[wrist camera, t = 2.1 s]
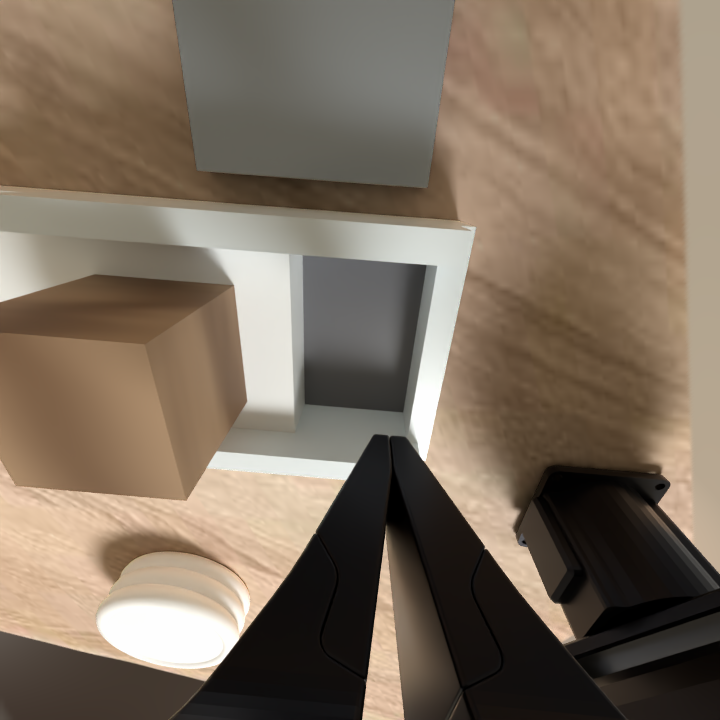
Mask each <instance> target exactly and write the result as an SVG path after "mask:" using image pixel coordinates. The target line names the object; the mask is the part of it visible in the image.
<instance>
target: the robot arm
mask: <svg viewBox="0 0 720 720" xmlns="http://www.w3.org/2000/svg"><path fill="white" fill-rule="evenodd" d="M669 487H670V482H669V481H668V480H667V479H666V478H665V477H664V476H663V475H660V474H649V473H637V472H626V471H614V470H602V469H590V468H579V467H567V466H552V467H549V468H548V469H546V471H545V472H544V475H543V477H542V479H541V481H540V483H539V485H538V488H537V490H536V492H535V494H534V496H533V499H532V500H531V503H530V505H529V507H528V509H527V511H526V514H525V516H524V518H523V520H522V522H521V525H520V527H519V529H518V531H517V534H516V539H517V541H518V544H519V545H520V546H524V547H528V549H529V551H530V553H531V556H532V558H533V560H534V563H535V565H536V568H537V570H538V572H539V575H540V577H541V579H542V582H543V584H544V587H545V589H546V591H547V594H548V596H549V598H550V599H551V600H552V601H553V602H554V603H557V604H561V606H562V609H563V611H564V613H565V616H566V618H567V620H568V622H569V625H570V627H571V629H572V631H573V634H574V636H575V638H576V640H575V641H572V642H569V643H566V644H562V643H561V642H560V641H559V640H558V638H557V637H556V636H555V635H554V634H553V633H552V631H551V630H550V629H549V628H548V627H547V626H546V624H545V623H544V622H543V621H542V620H541V618H540V617H539V616H538V615H537V614H536V612H535V611H534V610H533V609H532V607H531V606H530V605H529V604H528V603H527V601H526V600H525V599H524V598H523V597H522V595H521V594H520V593H519V592H518V590H517V589H516V588H515V586H514V585H513V584H512V582H511V581H510V580H509V578H508V577H507V576H506V574H505V573H504V572H503V570H502V569H501V568H500V566H499V565H498V564H497V562H496V561H495V560H494V558H493V557H492V555H491V554H490V553H489V551H488V550H487V549H485V546H484V544H483V543H482V542H481V540H480V539H479V537H478V536H477V535H476V533H475V532H474V531H473V529H472V528H471V526H470V525H469V524H468V522H467V521H466V519H465V518H464V517H463V515H462V514H461V512H460V511H459V510H458V508H457V507H456V505H455V504H454V503H453V501H452V500H451V499H450V497H449V496H448V494H447V493H446V492H445V490H444V489H443V487H442V486H441V485H440V483H439V482H438V480H437V479H436V478H435V476H434V475H433V473H432V472H431V471H430V469H429V468H428V467H427V465H426V464H425V462H424V461H423V460H422V458H421V457H420V455H419V454H418V453H417V451H416V450H415V448H414V447H413V446H412V444H411V443H410V441H409V440H408V439H407V438H406V437H404V436H391V437H389V436H388V435H382V434H374V435H373V436H372V438H371V440H370V441H369V443H368V445H367V446H366V448H365V450H364V451H363V453H362V455H361V456H360V458H359V460H358V461H357V463H356V465H355V466H354V468H353V470H352V471H351V473H350V475H349V476H348V478H347V480H346V481H345V483H344V485H343V486H342V488H341V490H340V491H339V493H338V495H337V496H336V498H335V500H334V501H333V503H332V505H331V506H330V508H329V510H328V512H327V513H326V515H325V517H324V518H323V520H322V522H321V523H320V525H319V527H318V528H317V530H316V534H314V535H313V536H312V538H311V540H310V541H309V543H308V545H307V546H306V548H305V550H304V551H303V553H302V554H301V556H300V557H299V559H298V560H297V562H296V564H295V565H294V567H293V568H292V570H291V571H290V573H289V574H288V575H287V577H286V578H285V580H284V581H283V582H282V584H281V585H280V586H279V588H278V589H277V591H276V592H275V593H274V595H273V596H272V597H271V599H270V600H269V601H268V603H267V604H266V605H265V606H264V608H263V609H262V610H261V612H260V613H259V614H258V615H257V617H256V618H255V619H254V621H253V622H252V623H251V625H250V626H249V627H248V628H247V630H246V631H245V632H244V634H243V635H242V636H241V637H240V639H239V640H238V641H237V643H236V644H235V645H234V646H233V648H232V649H231V650H230V652H229V653H228V654H227V656H226V657H225V658H224V659H223V661H222V662H221V663H220V665H219V666H218V667H217V668H216V670H215V671H214V672H213V673H212V674H211V676H210V677H209V678H208V679H207V681H206V682H205V683H204V684H203V685H202V686H201V688H200V689H199V690H198V691H197V692H196V693H195V694H194V695H193V696H192V698H190V700H189V701H188V702H187V703H186V704H185V705H184V706H183V707H182V708H181V709H180V710H179V711H177V712H176V713H175V714H174V715H173V716H172V717H171V718H170V719H169V720H362V716H363V708H364V699H365V691H366V682H367V675H368V667H369V659H370V651H371V643H372V635H373V627H374V619H375V611H376V603H377V595H378V587H379V579H380V571H381V563H382V555H383V547H384V539H385V531H386V540H387V550H388V560H389V570H390V580H391V590H392V600H393V610H394V620H395V630H396V640H397V650H398V660H399V670H400V680H401V690H402V700H403V709H404V719H405V720H720V574H719V573H718V572H717V571H716V570H715V568H714V567H713V566H712V565H711V564H710V563H709V562H708V561H707V559H706V558H705V557H704V556H703V555H702V554H701V553H700V552H699V550H698V549H697V548H696V547H695V546H694V545H693V544H692V543H691V541H690V540H689V539H688V538H687V537H686V536H685V535H684V534H683V533H682V531H681V530H680V529H679V528H678V527H677V526H676V525H675V524H674V522H673V521H672V520H671V519H670V518H669V517H668V516H667V515H666V513H665V512H664V511H663V510H662V509H661V508H660V507H659V506H658V503H659V501H660V500H661V498H662V497H663V496H664V494H665V493H666V492H667V490H668V489H669ZM484 549H485V550H484Z"/></svg>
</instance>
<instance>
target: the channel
mask: <svg viewBox="0 0 720 720" xmlns="http://www.w3.org/2000/svg"><path fill="white" fill-rule="evenodd" d="M475 231H476V227H475V226H472V225H469V224H467V223H464V222H461V221H457V220H444V219H431V218H418V217H405V216H392V215H379V214H366V213H353V212H340V211H327V210H314V209H301V208H288V207H275V206H262V205H249V204H236V203H223V202H210V201H197V200H184V199H171V198H158V197H145V196H132V195H119V194H106V193H93V192H80V191H67V190H54V189H41V188H28V187H15V186H2V185H0V302H3V301H6V300H9V299H13V298H16V297H20V296H23V295H26V294H30V293H33V292H37V291H40V290H43V289H47V288H50V287H53V286H57V285H60V284H64V283H67V282H70V281H74V280H77V279H80V278H84V277H87V276H91V275H94V274H98V275H111V276H123V277H136V278H149V279H161V280H174V281H186V282H199V283H211V284H224V285H234V288H235V297H236V306H237V315H238V323H239V332H240V341H241V350H242V359H243V368H244V376H245V385H246V394H247V403H246V405H245V406H244V408H243V409H242V411H241V413H240V414H239V416H238V417H237V419H236V421H235V422H234V424H233V426H232V427H231V429H230V430H229V432H228V434H227V435H226V437H225V439H224V440H223V442H222V443H221V445H220V447H219V448H218V450H217V452H216V453H215V455H214V456H213V458H212V460H211V461H210V463H209V464H208V466H207V468H211V469H223V470H235V471H246V472H258V473H269V474H281V475H293V476H304V477H316V478H328V479H339V480H347V478H348V476H349V475H350V473H351V471H352V470H353V468H354V466H355V465H356V463H357V461H358V460H359V458H360V456H361V455H362V453H363V451H364V450H365V448H366V446H367V445H368V443H369V441H370V440H371V438H372V436H373V435H374V434H382V435H388V436H389V437H391V436H404V437H406V438H407V439H408V440H409V441H410V443H411V444H412V446H413V447H414V448H415V450H416V451H417V453H418V454H419V455H420V457H421V458H422V460H423V461H426V456H427V452H428V447H429V443H430V438H431V433H432V429H433V424H434V420H435V415H436V410H437V406H438V401H439V397H440V392H441V387H442V383H443V378H444V374H445V369H446V364H447V360H448V355H449V351H450V346H451V341H452V337H453V332H454V328H455V323H456V318H457V314H458V309H459V305H460V300H461V295H462V291H463V286H464V282H465V277H466V272H467V268H468V263H469V259H470V254H471V249H472V245H473V240H474V236H475Z"/></svg>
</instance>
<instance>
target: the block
mask: <svg viewBox="0 0 720 720" xmlns="http://www.w3.org/2000/svg"><path fill="white" fill-rule="evenodd" d="M246 403H247V394H246V385H245V376H244V368H243V359H242V350H241V341H240V332H239V323H238V315H237V306H236V297H235V288H234V285H224V284H211V283H199V282H186V281H174V280H161V279H149V278H136V277H123V276H111V275H98V274H94V275H91V276H87V277H84V278H80V279H77V280H74V281H70V282H67V283H64V284H60V285H57V286H53V287H50V288H47V289H43V290H40V291H37V292H33V293H30V294H26V295H23V296H20V297H16V298H13V299H9V300H6V301H3V302H0V460H1V461H2V463H3V465H4V466H5V468H6V470H7V471H8V473H9V475H10V476H11V478H12V480H13V481H14V483H15V485H16V486H23V487H35V488H46V489H58V490H69V491H81V492H92V493H104V494H115V495H127V496H138V497H149V498H161V499H172V500H184V501H186V500H187V499H188V497H189V495H190V494H191V492H192V490H193V489H194V487H195V486H196V484H197V482H198V481H199V479H200V477H201V476H202V474H203V473H204V471H205V469H206V468H207V466H208V464H209V463H210V461H211V460H212V458H213V456H214V455H215V453H216V452H217V450H218V448H219V447H220V445H221V443H222V442H223V440H224V439H225V437H226V435H227V434H228V432H229V430H230V429H231V427H232V426H233V424H234V422H235V421H236V419H237V417H238V416H239V414H240V413H241V411H242V409H243V408H244V406H245V405H246Z"/></svg>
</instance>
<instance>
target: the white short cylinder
mask: <svg viewBox="0 0 720 720" xmlns="http://www.w3.org/2000/svg"><path fill="white" fill-rule="evenodd" d="M249 607H250V594H249V591H248V589H247V587H246V586H245V584H244V582H243V581H242V580H241V579H240V578H239V577H238V576H237V575H236V574H235V573H233V572H232V571H231V570H229V569H228V568H226V567H225V566H223V565H221V564H219V563H217V562H215V561H212V560H210V559H207V558H204V557H201V556H198V555H194V554H189V553H183V552H170V551H164V552H154V553H149V554H146V555H142V556H140V557H137V558H136V559H134V560H132V561H131V562H130V563H129V564H128V565H127V566H126V567H125V568H124V569H123V571H122V573H121V576H120V578H119V579H118V580H117V581H116V582H115V583H114V584H113V586H112V587H111V590H110V592H109V595H108V596H107V597H106V598H105V599H104V600H103V601H102V602H101V604H100V605H99V608H98V610H97V613H96V623H97V627H98V630H99V631H100V633H101V635H102V636H103V637H104V638H105V639H106V640H107V641H108V642H109V643H110V644H112V645H113V646H114V647H116V648H117V649H119V650H121V651H122V652H124V653H126V654H128V655H130V656H133V657H135V658H138V659H140V660H143V661H146V662H149V663H153V664H157V665H162V666H167V667H173V668H186V669H194V668H205V667H210V666H214V665H217V664H219V663H221V662H222V661H223V659H224V658H225V657H226V656H227V654H228V653H229V652H230V650H231V649H232V648H233V646H234V645H235V644H236V643H237V641H238V640H239V634H240V632H241V631H242V629H243V626H244V623H245V616H246V614H247V612H248V610H249Z"/></svg>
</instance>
